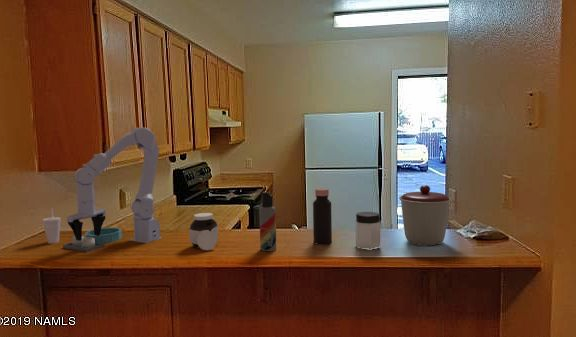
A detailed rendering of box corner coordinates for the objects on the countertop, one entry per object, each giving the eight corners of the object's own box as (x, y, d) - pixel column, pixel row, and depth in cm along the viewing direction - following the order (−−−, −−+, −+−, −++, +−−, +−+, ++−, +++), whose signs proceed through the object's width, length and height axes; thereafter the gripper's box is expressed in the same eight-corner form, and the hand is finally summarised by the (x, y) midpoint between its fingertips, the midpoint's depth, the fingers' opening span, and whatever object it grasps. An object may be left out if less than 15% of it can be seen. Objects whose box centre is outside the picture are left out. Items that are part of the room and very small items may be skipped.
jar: (382, 250, 147) (382, 216, 146) (359, 251, 146) (358, 216, 145) (376, 243, 156) (376, 211, 154) (354, 244, 155) (353, 211, 154)
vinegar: (322, 246, 153) (322, 191, 151) (309, 242, 158) (308, 189, 156) (335, 242, 158) (335, 189, 156) (322, 239, 163) (321, 187, 161)
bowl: (128, 237, 171) (128, 229, 171) (101, 246, 160) (100, 236, 160) (106, 234, 177) (106, 226, 177) (78, 242, 166) (77, 233, 166)
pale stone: (97, 247, 157) (96, 238, 157) (88, 250, 153) (87, 240, 153) (90, 246, 159) (89, 236, 158) (80, 248, 155) (80, 239, 155)
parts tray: (104, 247, 158) (104, 243, 157) (87, 253, 151) (86, 248, 151) (80, 243, 164) (80, 240, 164) (63, 248, 157) (62, 244, 157)
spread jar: (207, 241, 164) (205, 211, 163) (228, 245, 158) (227, 214, 156) (183, 248, 154) (181, 217, 153) (204, 253, 148) (203, 220, 147)
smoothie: (54, 245, 162) (51, 209, 161) (40, 245, 163) (37, 209, 162) (66, 241, 168) (63, 206, 167) (52, 240, 170) (49, 206, 168)
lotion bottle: (264, 252, 147) (262, 195, 145) (257, 248, 152) (256, 193, 150) (279, 250, 149) (277, 194, 147) (272, 246, 154) (270, 192, 152)
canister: (388, 240, 159) (388, 184, 157) (423, 233, 168) (423, 180, 166) (426, 252, 143) (426, 190, 141) (462, 244, 152) (463, 185, 150)
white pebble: (86, 245, 160) (86, 236, 159) (77, 248, 156) (76, 238, 156) (79, 244, 162) (79, 235, 161) (70, 247, 158) (69, 237, 158)
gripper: (95, 197, 163) (97, 232, 164) (60, 203, 150) (62, 241, 151) (108, 198, 159) (110, 234, 161) (73, 204, 147) (75, 243, 148)
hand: (88, 237), depth 156 cm, fingers open, 7 cm apart
